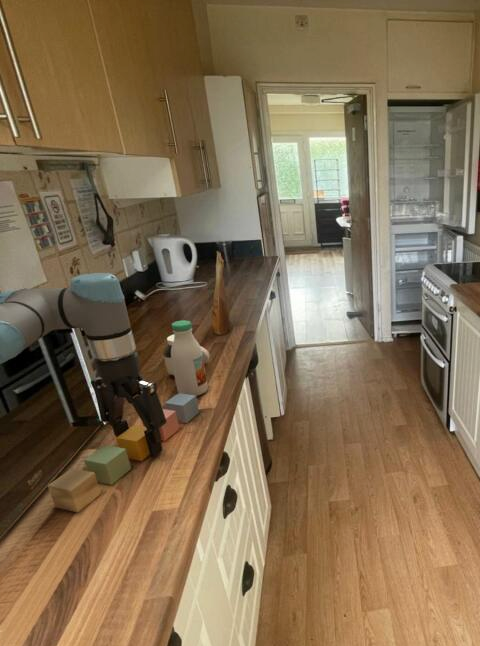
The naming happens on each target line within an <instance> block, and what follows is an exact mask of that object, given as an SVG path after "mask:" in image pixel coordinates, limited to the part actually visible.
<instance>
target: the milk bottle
mask: <svg viewBox="0 0 480 646" xmlns="http://www.w3.org/2000/svg"><path fill="white" fill-rule="evenodd" d="M192 325H193V324H192V322H191V321H190V320H183V319H182V320H177V321H174V322H172V323H171V329H172V333H173V335H174V341H173V345H172V348H171V359H172V365H173V370H174V376H175V377H174V380H175V385H176V391H177V394H178V393H182V394H188V395H195V396H196V397H198V396H200V395H201V396H202V395H203V394H205V393H206V392H207V390H208V388H209V386H208V379H207V372H206V366H205V363H204V360H203V354H202V350H201V347H202V346H201V345H200V344H199V342H198V341H197V339H196V338H195V336H194V334H193V332H192V331H193V327H192ZM200 346H201V347H200Z"/></svg>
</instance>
